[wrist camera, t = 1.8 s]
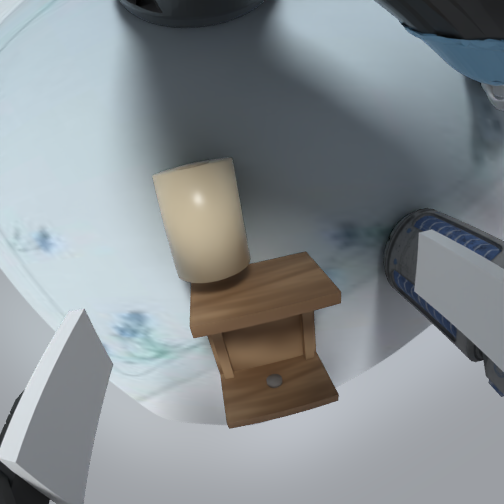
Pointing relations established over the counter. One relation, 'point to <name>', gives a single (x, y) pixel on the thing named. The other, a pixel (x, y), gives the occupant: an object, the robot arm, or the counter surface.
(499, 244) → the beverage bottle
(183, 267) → the cylinder
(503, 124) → the counter surface
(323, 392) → the holder
